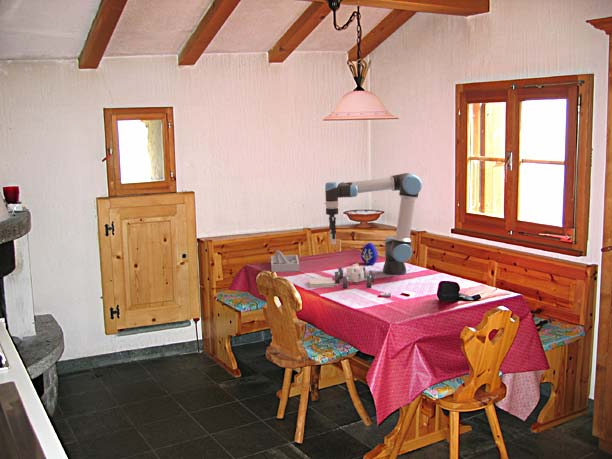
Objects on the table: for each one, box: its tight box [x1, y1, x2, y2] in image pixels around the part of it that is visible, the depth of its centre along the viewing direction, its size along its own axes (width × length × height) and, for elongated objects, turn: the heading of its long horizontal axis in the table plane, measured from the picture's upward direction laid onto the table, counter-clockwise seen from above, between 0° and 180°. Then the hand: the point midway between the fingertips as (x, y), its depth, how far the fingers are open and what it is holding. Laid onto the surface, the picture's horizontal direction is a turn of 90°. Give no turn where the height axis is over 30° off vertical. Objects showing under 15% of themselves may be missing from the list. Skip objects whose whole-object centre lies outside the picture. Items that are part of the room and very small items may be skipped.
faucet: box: [274, 249, 296, 264], centre depth 472 cm, size 14×11×20 cm
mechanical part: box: [344, 263, 365, 284], centre depth 421 cm, size 11×12×12 cm
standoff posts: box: [334, 265, 375, 290], centre depth 422 cm, size 24×28×7 cm
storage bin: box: [270, 254, 300, 273], centre depth 471 cm, size 18×29×5 cm, turn 3°
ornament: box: [360, 242, 379, 266], centre depth 472 cm, size 11×9×15 cm
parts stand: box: [308, 277, 335, 289], centre depth 419 cm, size 14×14×2 cm
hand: (332, 242), depth 424 cm, fingers open, 13 cm apart
